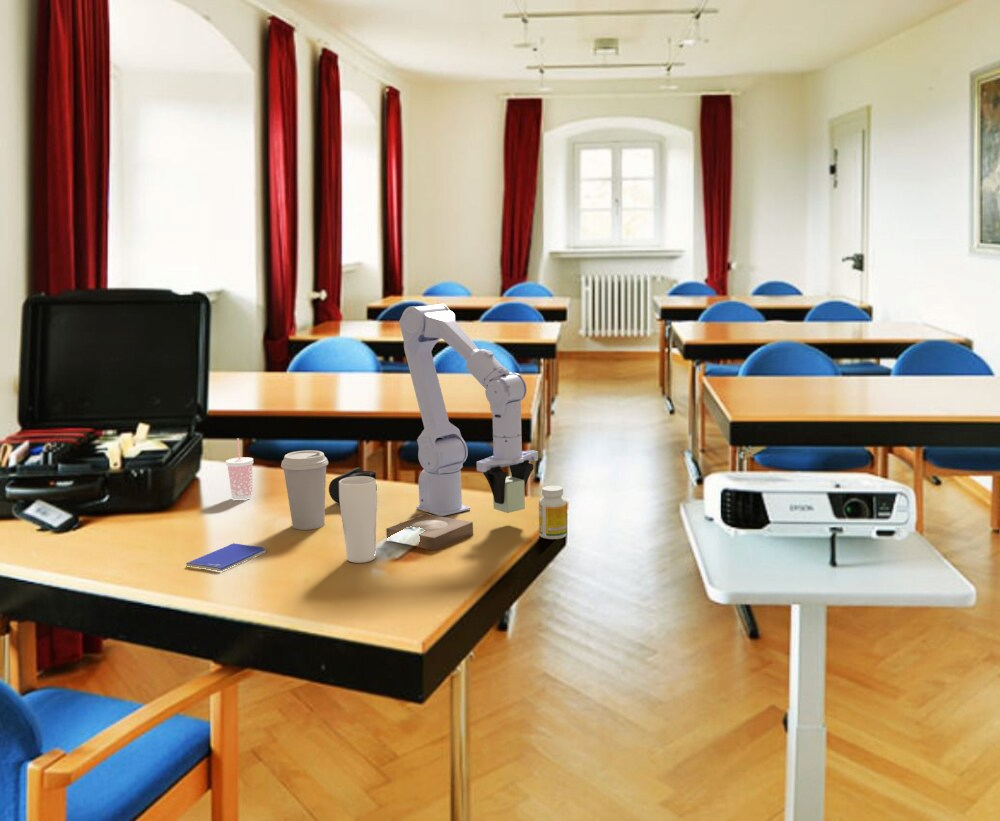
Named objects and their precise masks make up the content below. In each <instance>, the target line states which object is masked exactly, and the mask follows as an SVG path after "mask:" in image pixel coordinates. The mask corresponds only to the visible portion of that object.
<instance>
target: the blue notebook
mask: <svg viewBox="0 0 1000 821" xmlns="http://www.w3.org/2000/svg"><path fill="white" fill-rule="evenodd" d="M265 552H266V548H265V547H261V546H256V545H250V544H249V545H248V544H242V543H235V542H234V543H231V544H229V545H227V546H224V547H222V548H219V549H217V550H214V551H212V552H209V553H207V554H204V555H203V556H200V557H198V558H196V559H193V560H190V561H188V562H186V567H187V566H190V567H191V566H192V567H199V568H206V569H211V570H217V571H223V570H225V569H228V568H230V567H232V566H234V565H237V564H239V563H241V564H243V563H242V562H244V561H246V560H248V561H250V560H252V559H251V558H253V557H255V556H257V557H259V556H261V555H263V554H262V553H264V554H265ZM260 554H261V555H260ZM258 555H259V556H258ZM255 558H256V557H255ZM249 559H250V560H249ZM253 559H254V558H253ZM246 562H247V561H246ZM244 563H245V562H244ZM239 565H240V564H239ZM237 566H238V565H237ZM230 569H231V568H230ZM228 570H229V569H228Z"/></svg>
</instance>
